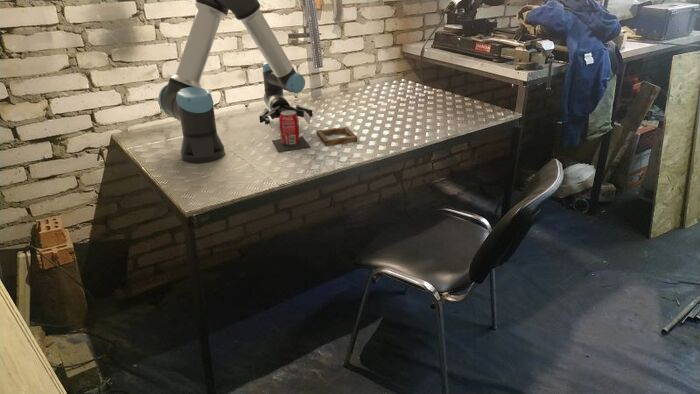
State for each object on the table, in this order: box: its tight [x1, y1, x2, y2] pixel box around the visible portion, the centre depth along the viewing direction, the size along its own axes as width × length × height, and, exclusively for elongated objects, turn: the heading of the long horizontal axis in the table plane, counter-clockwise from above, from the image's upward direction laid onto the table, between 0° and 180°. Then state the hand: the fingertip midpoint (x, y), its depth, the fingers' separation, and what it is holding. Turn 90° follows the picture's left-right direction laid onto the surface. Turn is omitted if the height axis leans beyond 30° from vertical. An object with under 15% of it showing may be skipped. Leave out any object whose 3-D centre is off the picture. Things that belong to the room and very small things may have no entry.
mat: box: [271, 136, 311, 153], centre depth 194 cm, size 12×12×1 cm
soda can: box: [278, 110, 301, 146], centre depth 191 cm, size 7×7×12 cm
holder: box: [316, 126, 358, 147], centre depth 198 cm, size 12×12×2 cm
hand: (290, 122), depth 187 cm, fingers open, 13 cm apart
